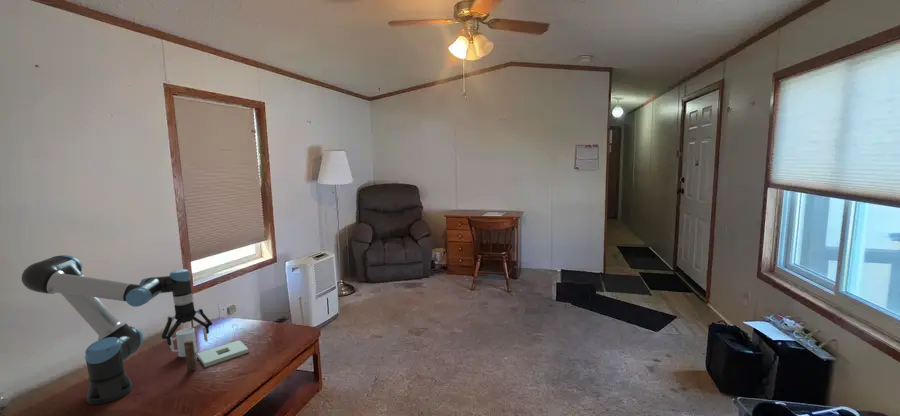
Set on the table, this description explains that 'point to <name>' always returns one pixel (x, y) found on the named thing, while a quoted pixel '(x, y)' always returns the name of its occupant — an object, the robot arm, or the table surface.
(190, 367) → the peg
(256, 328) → the table surface
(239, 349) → the socket board
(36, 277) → the robot arm
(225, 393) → the table surface
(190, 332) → the mug
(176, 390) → the table surface
